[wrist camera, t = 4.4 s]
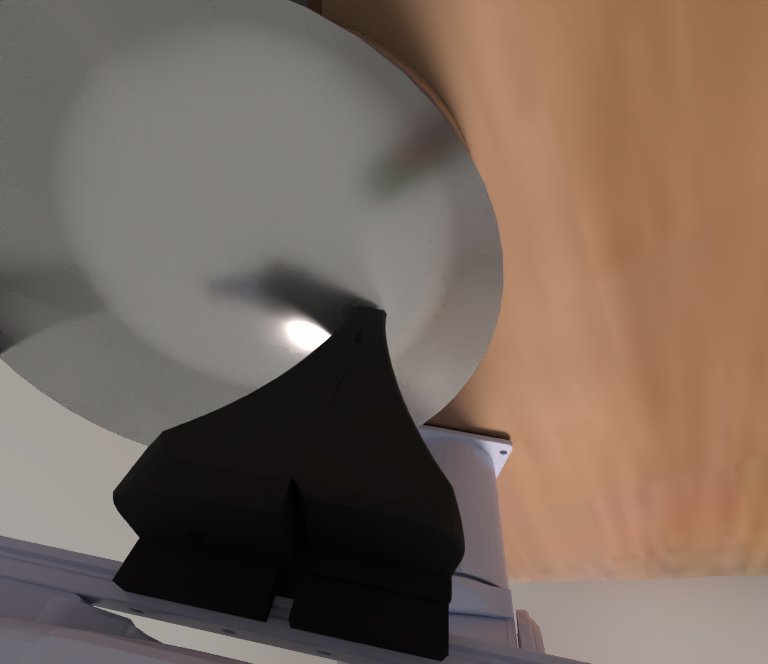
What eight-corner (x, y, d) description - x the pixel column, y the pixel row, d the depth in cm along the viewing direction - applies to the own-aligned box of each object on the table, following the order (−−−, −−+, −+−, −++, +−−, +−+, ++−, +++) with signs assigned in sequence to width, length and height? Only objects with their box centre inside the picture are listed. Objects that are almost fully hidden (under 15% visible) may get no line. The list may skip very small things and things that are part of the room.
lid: (441, 446, 18) (446, 468, 17) (-18, 450, 15) (-41, 476, 14) (580, 30, 8) (611, 27, 7) (-649, -136, 5) (-859, -176, 4)
